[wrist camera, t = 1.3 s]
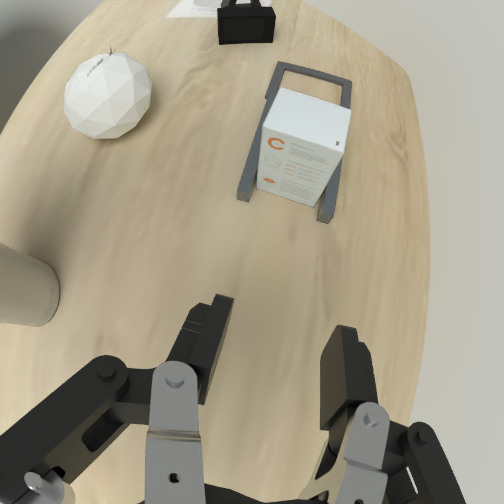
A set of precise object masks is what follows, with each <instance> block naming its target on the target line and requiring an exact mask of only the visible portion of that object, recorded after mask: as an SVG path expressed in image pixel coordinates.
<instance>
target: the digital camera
mask: <svg viewBox="0 0 504 504" xmlns="http://www.w3.org/2000/svg"><path fill="white" fill-rule="evenodd" d="M217 15H218V37H219V45H224V44H241V43H273V35H274V28H275V20H276V15H275V13H274V10H273V8H272V7H237V6H233V5H229V6H225V7H223V8H217Z"/></svg>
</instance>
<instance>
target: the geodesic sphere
mask: <svg viewBox="0 0 504 504" xmlns="http://www.w3.org/2000/svg"><path fill="white" fill-rule="evenodd" d="M110 47H111V45H110ZM110 49H111V53H105V54H99V55H97V56H95V57H93V58H91V59H89V60H87V61H85V62H83V63H81V64H80V65H79V67H78V68H77V69H76V71H75V72H74V74H73V75H72V77H71V78H70V80H69V81H68V83H67V84H66V86H65V97H64V112H65V114H66V116H67V118H68V120H69V122H70V124H71V125H72V127H73V129H75V130H77V131H79V132H80V133H82V134H84V135H86V136H88V137H90V138H91V139H108V138H118V137H120V136H121V135H123V134H124V133H126V132H128V131H129V130H131V129H133V128H134V127H135V126H136V125H137V123H138V122H139V121H140V119H141V118H142V116H143V115H144V113H145V112H146V111H147V109H148V108H149V106H150V97H151V89H152V81H151V79H150V77H149V74H148V72H147V70H146V68H145V66H144V65H143V64H141V63H140V62H138V61H137V60H135V59H134V58H132V57H131V56H130V55H128V54H127V53H115V51H114V53H112V48H110Z"/></svg>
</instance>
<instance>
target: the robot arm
mask: <svg viewBox="0 0 504 504" xmlns="http://www.w3.org/2000/svg"><path fill="white" fill-rule="evenodd" d="M58 301H59V283H58V279H57V276H56V274H55V272H54V271H53V269H52V268H51V267H50V266H49V265H47V264H46V263H44V262H41V261H39V260H37V259H35V258H32V257H30V256H28V255H26V254H24V253H22V252H19V251H17V250H15V249H13V248H11V247H9V246H7V245H4V244H2V243H0V323H8V324H17V325H25V326H41V325H44V324H46V323H47V322H48V321H49V320H50V319H51V318H52V317H53V315H54V313H55V311H56V309H57V306H58ZM233 303H234V298H230V297H227V296H223V295H220V294H216V295H215V297H214V300H213V302H212V305H211V306H210V305H206V304H203V303H199V304H197V305H196V306H195V307H193V308H192V309H191V310H190V312H189V314H188V316H187V318H186V321H185V322H184V324H183V326H182V329H181V330H180V332H179V335H178V337H177V339H176V341H175V343H174V345H173V347H172V349H171V352H170V354H169V356H168V358H167V359H166V361H165V362H164V363H162V364H160V365H159V366H158V367H155V368H152V369H134V368H127V367H126V365H125V364H124V362H123V361H121V360H120V359H119V358H117V357H114V356H110V355H103V356H99V357H96V358H94V359H93V360H92V361H90V362H89V363H88V364H87V365H85V366H84V367H83V368H82V369H80V370H79V371H78V372H77V373H76V374H74V375H73V376H72V377H71V378H69V379H68V380H67V381H66V382H65V383H63V384H62V385H61V386H60V387H58V388H57V389H56V390H55V391H54V392H52V393H51V394H50V395H49V396H48V397H46V398H45V399H44V400H43V401H41V402H40V403H39V404H38V405H37V406H35V407H34V408H33V409H32V410H31V411H29V412H28V413H27V414H26V415H25V416H23V417H22V418H21V419H20V420H19V421H17V422H16V423H15V424H14V425H13V426H12V427H10V428H9V429H8V430H7V431H6V432H4V433H3V434H2V435H1V436H0V502H1V503H2V504H75V494H74V491H73V489H72V487H71V486H70V484H71V483H72V482H73V481H74V480H75V479H76V478H77V477H78V476H79V475H80V474H81V473H82V472H83V471H84V470H85V469H86V468H87V467H88V466H89V465H90V464H91V463H92V462H93V461H94V460H95V459H96V458H97V457H98V456H99V455H100V454H101V453H102V452H103V451H104V450H105V449H106V448H107V447H108V446H109V445H110V444H111V443H112V442H113V441H114V440H115V439H116V438H117V437H118V436H119V435H120V434H121V433H122V432H123V431H124V430H125V429H126V428H127V427H128V426H129V425H130V424H144V425H149V429H148V432H147V437H146V454H145V500H144V501H142V502H140V503H138V504H466V502H465V500H464V497H463V495H462V492H461V490H460V487H459V485H458V483H457V480H456V478H455V476H454V474H453V471H452V469H451V466H450V464H449V462H448V460H447V458H446V455H445V453H444V451H443V449H442V447H441V445H440V443H439V440H438V439H437V436H436V434H435V432H434V430H433V429H432V428H431V427H430V426H429V425H428V424H426V423H423V422H416V423H413V424H412V425H411V426H409V427H406V426H403V425H401V424H398V423H396V422H393V421H391V420H390V419H389V415H388V413H387V412H386V410H385V409H384V408H383V407H382V406H380V405H379V404H378V397H377V390H376V384H375V377H374V374H373V372H374V371H373V365H372V359H371V354H370V351H369V350H368V348H367V347H366V345H365V343H363V342H359V341H358V335H357V330H356V328H352V327H348V326H343V325H337V326H336V328H335V330H334V331H333V333H332V335H331V337H330V339H329V341H328V342H327V344H326V346H325V348H324V350H323V352H322V355H321V360H320V430H327V431H329V438H328V439H327V440H326V441H325V442H324V445H323V447H322V450H321V453H320V455H319V458H318V461H317V463H316V466H315V468H314V471H313V473H312V476H311V478H310V480H309V482H308V484H307V485H306V487H305V488H304V489H303V490H302V492H301V493H300V495H299V497H298V499H295V500H287V501H279V502H269V503H264V502H260V501H257V500H255V499H252V498H250V497H247V496H245V495H243V494H240V493H238V492H236V491H233V490H231V489H226V488H222V487H217V486H213V485H209V484H205V483H204V476H203V462H202V447H201V438H200V435H199V425H198V404H201V405H204V404H205V401H206V397H207V394H208V391H209V388H210V385H211V381H212V378H213V375H214V372H215V368H216V365H217V362H218V359H219V356H220V352H221V349H222V346H223V343H224V339H225V336H226V332H227V328H228V324H229V320H230V316H231V311H232V307H233ZM407 467H409V470H410V472H411V475H412V477H413V480H414V482H415V485H416V487H417V490H418V494H417V493H416V492H415V489H414V487H413V485H412V482H411V479H410V477H409V474H408V472H407V469H406V468H407Z"/></svg>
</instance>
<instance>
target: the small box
mask: <svg viewBox="0 0 504 504" xmlns="http://www.w3.org/2000/svg"><path fill="white" fill-rule="evenodd" d="M351 112H352V110H350V109H347V108H344V107H342V106H339V105H336V104H333V103H330V102H328V101H325V100H322V99H319V98H316V97H312V96H309V95H306V94H303V93H300V92H296V91H293V90H289V89H286V88H282V87H280V89H279V91H278V93H277V95H276V97H275V99H274V101H273V104H272V106H271V108H270V110H269V112H268V114H267V117H266V119H265V121H264V123H263V125H262V137H261V146H260V155H259V163H258V172H257V181H256V188H257V189H260V190H263V191H266V192H269V193H272V194H275V195H278V196H281V197H284V198H287V199H290V200H293V201H297V202H300V203H303V204H305V205H308V206H311V207H314V206H315V204H316V202H317V201H318V199H319V197H320V196H321V194H322V192H323V190H324V189H325V187H326V185H327V183H328V181H329V179H330V178H331V176H332V174H333V172H334V170H335V169H336V167H337V165H338V163H339V162H340V160H341V158H342V156H343V154H344V150H345V144H346V139H347V133H348V128H349V122H350V117H351Z"/></svg>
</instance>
